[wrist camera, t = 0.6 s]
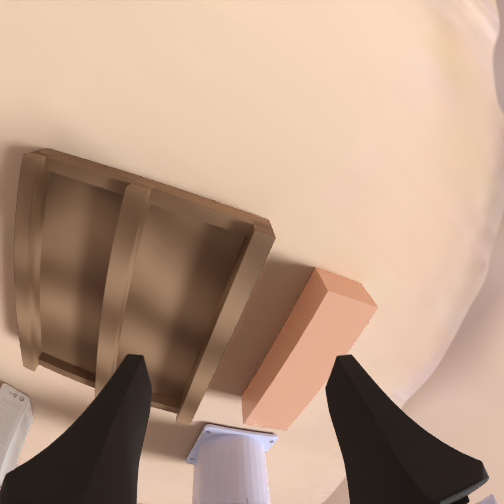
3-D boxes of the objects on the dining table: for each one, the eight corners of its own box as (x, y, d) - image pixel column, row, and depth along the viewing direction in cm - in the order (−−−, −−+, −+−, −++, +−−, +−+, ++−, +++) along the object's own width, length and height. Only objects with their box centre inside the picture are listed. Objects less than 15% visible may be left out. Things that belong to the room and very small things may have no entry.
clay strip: (280, 401, 27) (285, 430, 24) (241, 394, 26) (243, 424, 23) (359, 281, 22) (377, 307, 19) (314, 265, 21) (328, 290, 18)
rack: (191, 400, 26) (189, 425, 23) (36, 345, 23) (23, 366, 20) (269, 220, 19) (275, 237, 17) (48, 148, 16) (23, 154, 14)
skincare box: (2, 380, 25) (-37, 454, 14) (32, 397, 26) (-3, 477, 15) (8, 406, 27) (-23, 473, 16) (36, 421, 28) (8, 492, 17)
